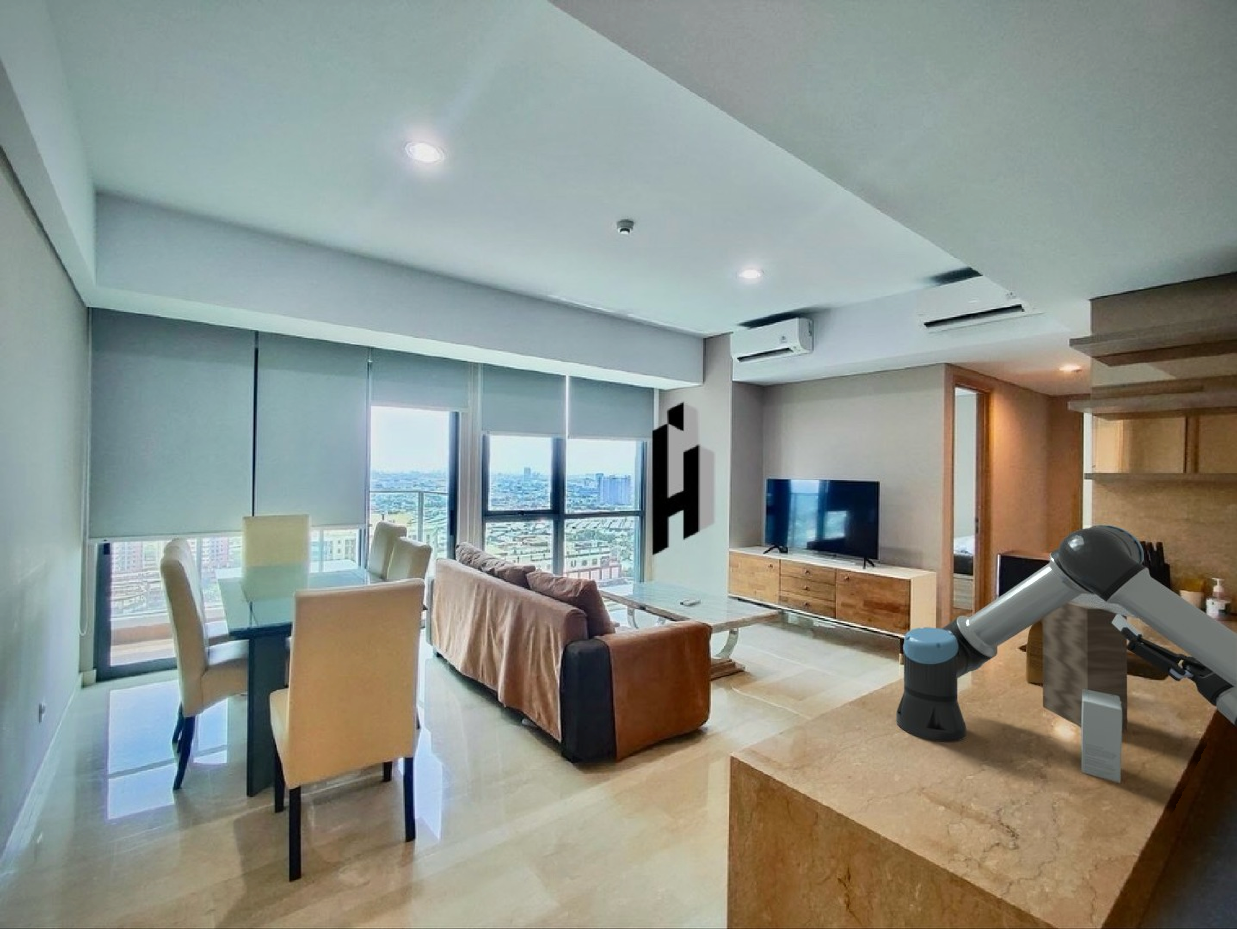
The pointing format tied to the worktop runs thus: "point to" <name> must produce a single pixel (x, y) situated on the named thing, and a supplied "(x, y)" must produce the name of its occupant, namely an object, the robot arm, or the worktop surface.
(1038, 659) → the brown bottle
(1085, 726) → the skincare box
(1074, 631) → the walnut stand
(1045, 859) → the worktop surface
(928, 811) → the worktop surface
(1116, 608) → the steel bar
